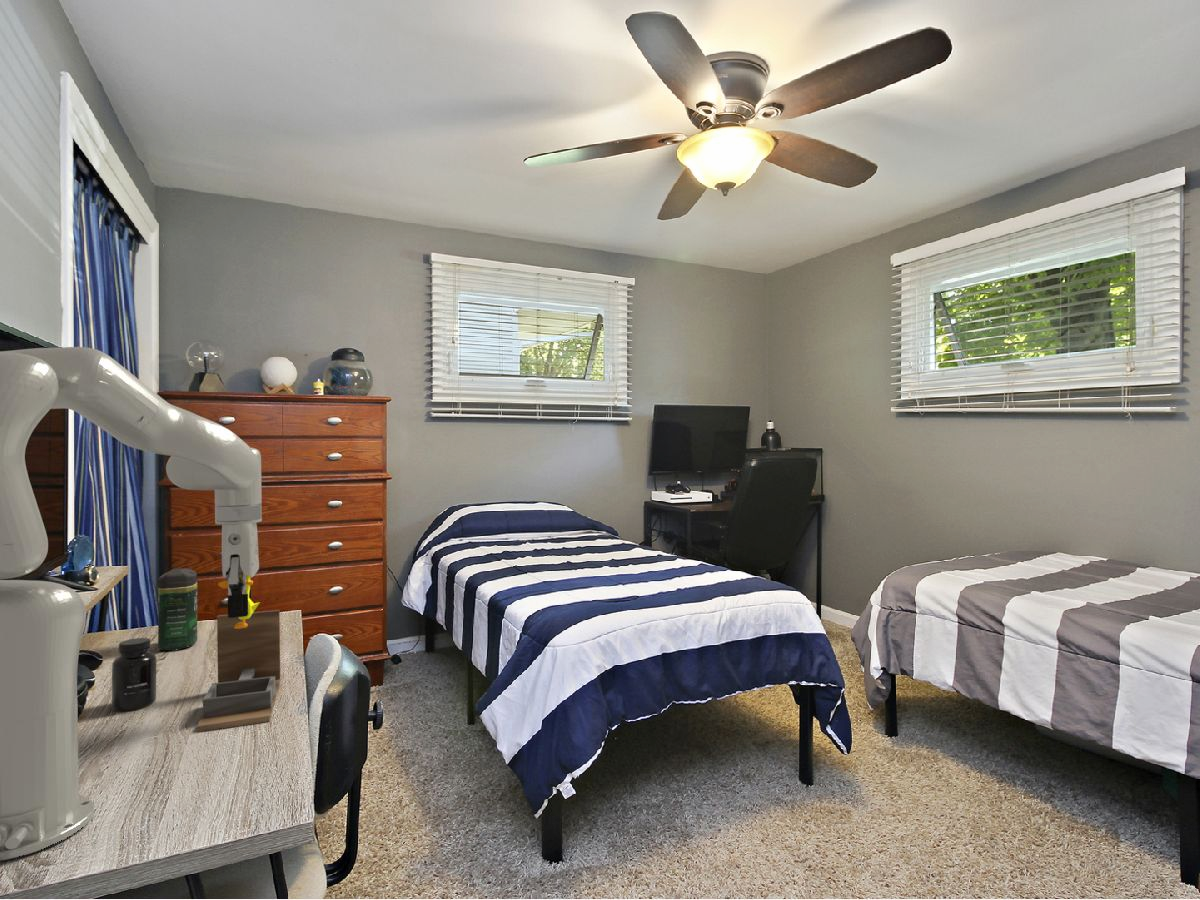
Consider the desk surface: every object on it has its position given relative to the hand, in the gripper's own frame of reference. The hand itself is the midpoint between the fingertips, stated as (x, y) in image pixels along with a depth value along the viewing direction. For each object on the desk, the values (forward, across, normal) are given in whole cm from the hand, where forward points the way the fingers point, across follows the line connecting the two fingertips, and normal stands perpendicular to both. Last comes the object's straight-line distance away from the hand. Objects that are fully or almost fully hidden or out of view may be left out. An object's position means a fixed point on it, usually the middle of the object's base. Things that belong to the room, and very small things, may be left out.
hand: (239, 612), depth 119 cm
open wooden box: (+18, +2, 0) cm, 18 cm away
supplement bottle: (+18, +10, +19) cm, 28 cm away
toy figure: (+3, 0, 0) cm, 3 cm away
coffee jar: (+18, +49, +20) cm, 56 cm away
